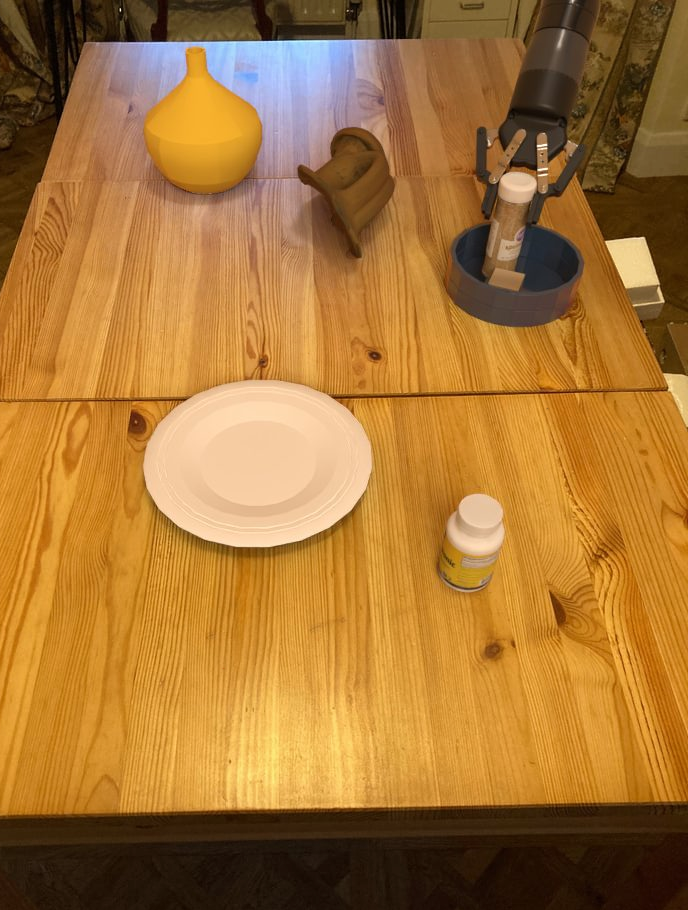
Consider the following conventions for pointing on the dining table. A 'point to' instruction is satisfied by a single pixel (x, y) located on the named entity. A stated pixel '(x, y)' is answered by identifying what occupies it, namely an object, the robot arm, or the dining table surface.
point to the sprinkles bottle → (509, 221)
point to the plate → (257, 463)
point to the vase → (203, 132)
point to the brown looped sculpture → (353, 182)
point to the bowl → (541, 260)
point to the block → (507, 280)
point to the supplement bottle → (471, 543)
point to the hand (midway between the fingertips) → (507, 221)
